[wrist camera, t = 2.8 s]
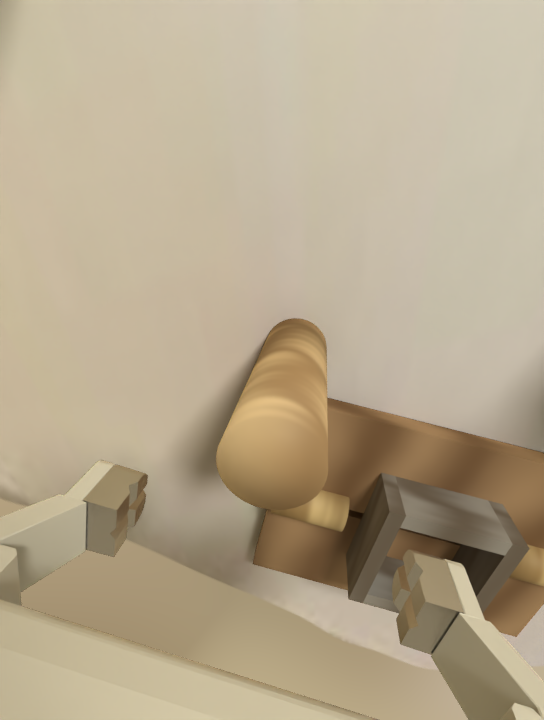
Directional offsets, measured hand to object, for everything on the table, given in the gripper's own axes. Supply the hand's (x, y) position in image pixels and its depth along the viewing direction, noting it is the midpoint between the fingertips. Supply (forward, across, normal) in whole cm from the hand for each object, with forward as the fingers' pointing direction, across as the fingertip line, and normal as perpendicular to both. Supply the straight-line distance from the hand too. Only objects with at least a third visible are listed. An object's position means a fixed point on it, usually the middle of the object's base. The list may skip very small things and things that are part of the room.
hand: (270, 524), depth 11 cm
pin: (+14, +1, -1) cm, 14 cm away
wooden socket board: (+14, -11, +10) cm, 21 cm away
